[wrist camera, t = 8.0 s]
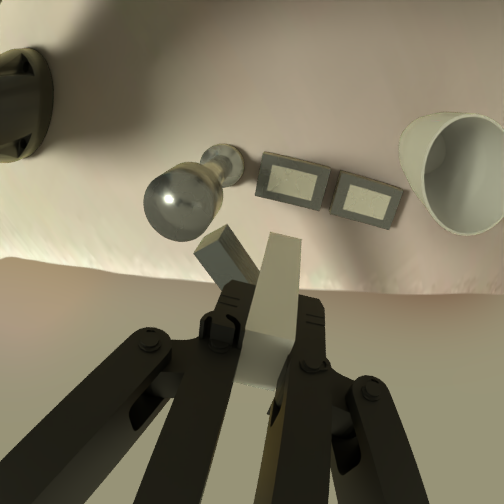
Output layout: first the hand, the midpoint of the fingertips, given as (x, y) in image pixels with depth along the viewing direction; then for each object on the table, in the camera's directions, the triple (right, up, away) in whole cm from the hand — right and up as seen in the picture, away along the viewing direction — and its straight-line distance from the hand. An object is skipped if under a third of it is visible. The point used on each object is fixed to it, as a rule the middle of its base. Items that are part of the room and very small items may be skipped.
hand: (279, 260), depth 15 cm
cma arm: (-1, -2, +8) cm, 8 cm away
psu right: (+9, +5, +12) cm, 16 cm away
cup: (+14, +10, +9) cm, 19 cm away
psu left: (+2, +7, +12) cm, 14 cm away
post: (-4, +8, +13) cm, 16 cm away
